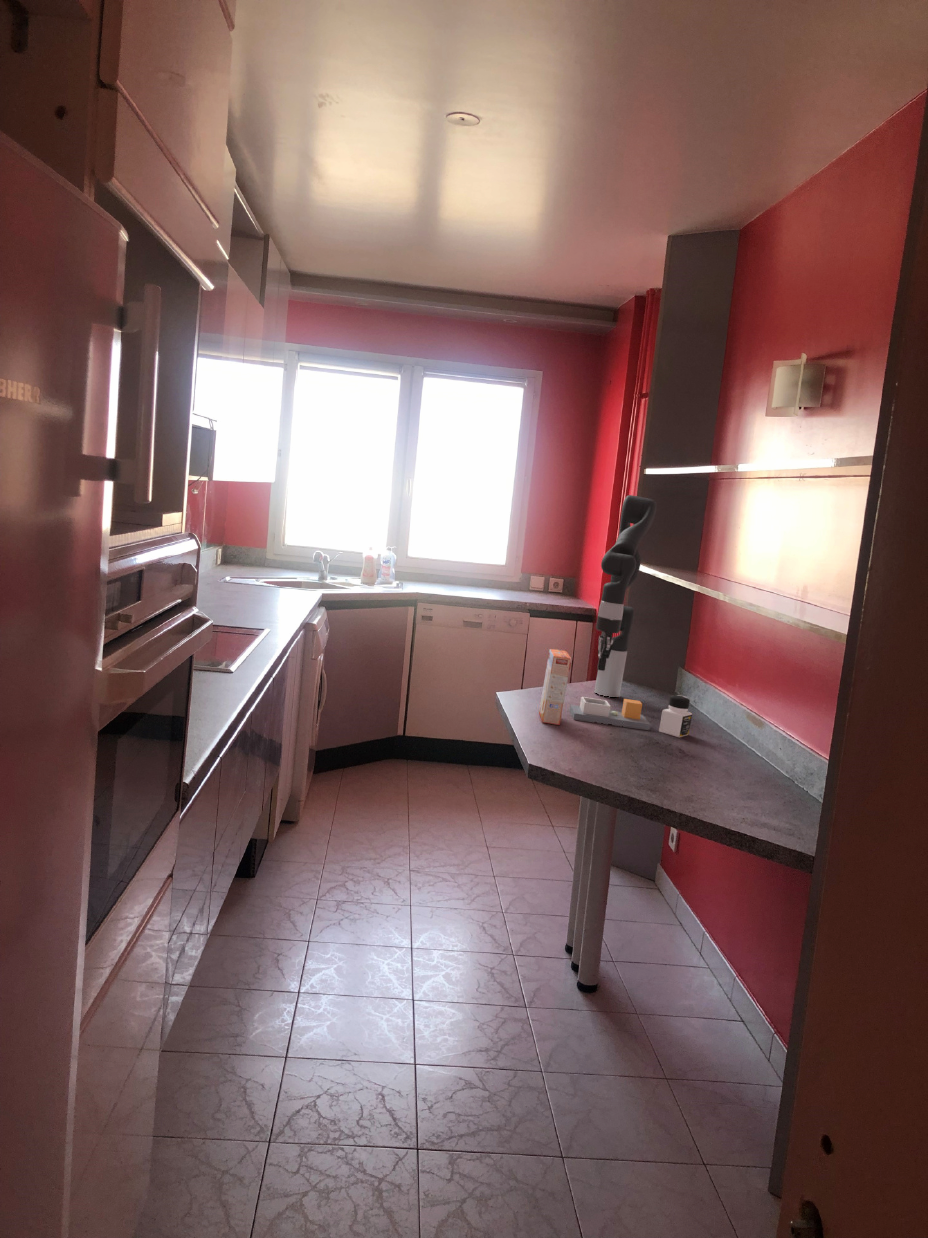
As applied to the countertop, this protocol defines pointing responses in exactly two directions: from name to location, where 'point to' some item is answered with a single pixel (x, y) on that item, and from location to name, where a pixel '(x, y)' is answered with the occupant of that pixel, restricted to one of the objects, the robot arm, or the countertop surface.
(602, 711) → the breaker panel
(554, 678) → the cracker box
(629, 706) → the orange cube
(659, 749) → the countertop surface
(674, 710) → the medicine bottle
